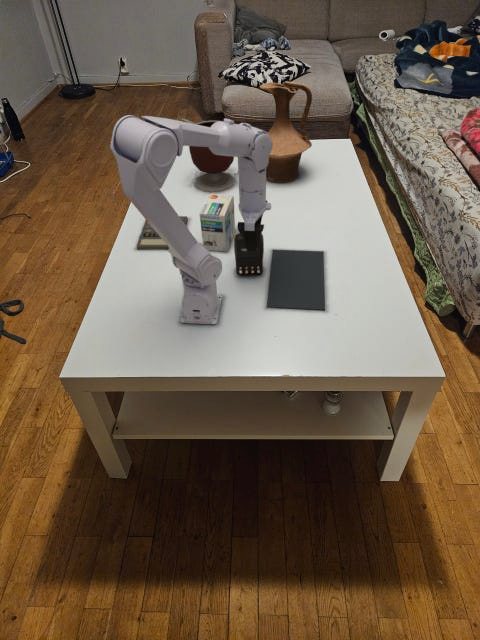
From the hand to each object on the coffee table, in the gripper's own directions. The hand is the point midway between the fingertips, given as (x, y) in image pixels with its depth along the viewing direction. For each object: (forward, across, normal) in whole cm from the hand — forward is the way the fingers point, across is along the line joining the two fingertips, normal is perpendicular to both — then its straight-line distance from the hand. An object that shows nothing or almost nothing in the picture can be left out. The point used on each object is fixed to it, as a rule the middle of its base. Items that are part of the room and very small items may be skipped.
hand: (253, 240), depth 105 cm
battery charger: (+10, 0, +1) cm, 10 cm away
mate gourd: (+10, +46, +18) cm, 50 cm away
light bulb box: (+10, +14, +10) cm, 20 cm away
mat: (+10, -1, -10) cm, 14 cm away
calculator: (+10, +16, +27) cm, 33 cm away
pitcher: (+10, +52, -4) cm, 53 cm away
